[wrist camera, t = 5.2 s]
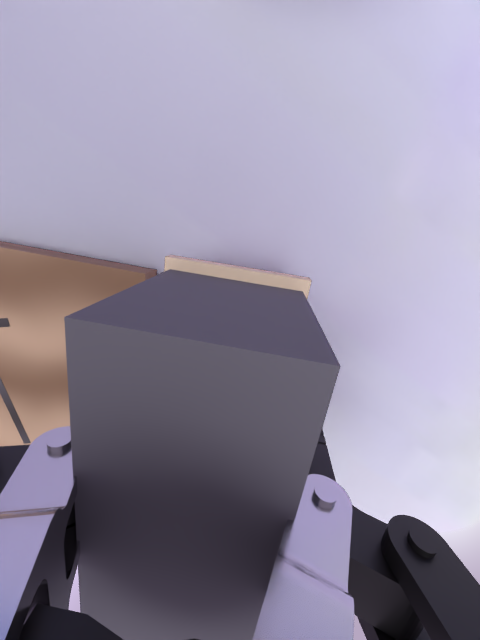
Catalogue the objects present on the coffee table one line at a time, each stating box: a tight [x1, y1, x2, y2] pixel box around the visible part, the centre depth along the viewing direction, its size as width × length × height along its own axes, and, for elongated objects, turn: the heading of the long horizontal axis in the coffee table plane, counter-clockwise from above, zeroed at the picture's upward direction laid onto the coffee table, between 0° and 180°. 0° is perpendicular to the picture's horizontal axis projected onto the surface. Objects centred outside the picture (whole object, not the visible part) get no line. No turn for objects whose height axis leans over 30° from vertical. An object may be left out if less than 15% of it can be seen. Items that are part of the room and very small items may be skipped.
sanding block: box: [64, 255, 340, 640], centre depth 9 cm, size 10×5×6 cm, turn 171°
